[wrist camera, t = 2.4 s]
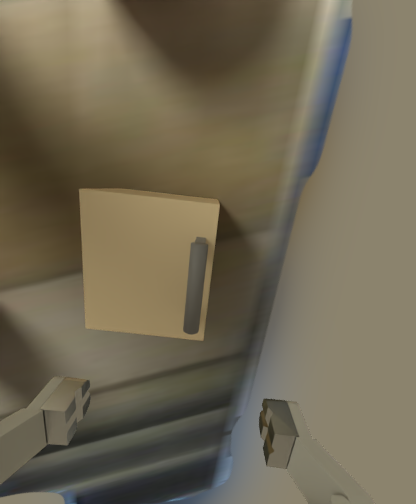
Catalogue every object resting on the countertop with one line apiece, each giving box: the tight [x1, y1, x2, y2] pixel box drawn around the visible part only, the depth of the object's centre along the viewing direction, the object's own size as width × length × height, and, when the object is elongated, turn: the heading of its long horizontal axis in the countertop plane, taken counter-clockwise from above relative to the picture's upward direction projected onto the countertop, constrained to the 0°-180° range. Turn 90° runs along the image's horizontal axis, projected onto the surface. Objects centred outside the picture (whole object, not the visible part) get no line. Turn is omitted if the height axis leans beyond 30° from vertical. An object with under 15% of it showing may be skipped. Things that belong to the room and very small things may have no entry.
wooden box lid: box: [79, 189, 220, 341], centre depth 23 cm, size 16×14×5 cm
